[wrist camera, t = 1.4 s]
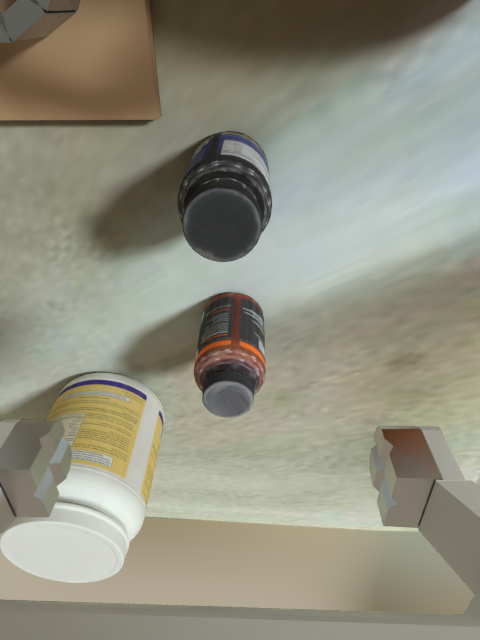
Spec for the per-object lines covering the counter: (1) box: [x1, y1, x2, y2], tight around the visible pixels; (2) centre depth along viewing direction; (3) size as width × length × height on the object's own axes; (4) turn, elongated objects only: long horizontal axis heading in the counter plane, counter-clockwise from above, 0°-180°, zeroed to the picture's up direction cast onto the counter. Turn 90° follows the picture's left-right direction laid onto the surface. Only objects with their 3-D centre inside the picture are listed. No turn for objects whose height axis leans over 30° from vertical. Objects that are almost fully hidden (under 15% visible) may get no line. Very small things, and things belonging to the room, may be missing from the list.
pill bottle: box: [178, 131, 272, 262], centre depth 30 cm, size 6×6×11 cm
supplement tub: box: [0, 373, 165, 583], centre depth 44 cm, size 12×12×17 cm
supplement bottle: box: [194, 292, 265, 417], centre depth 38 cm, size 6×6×11 cm
